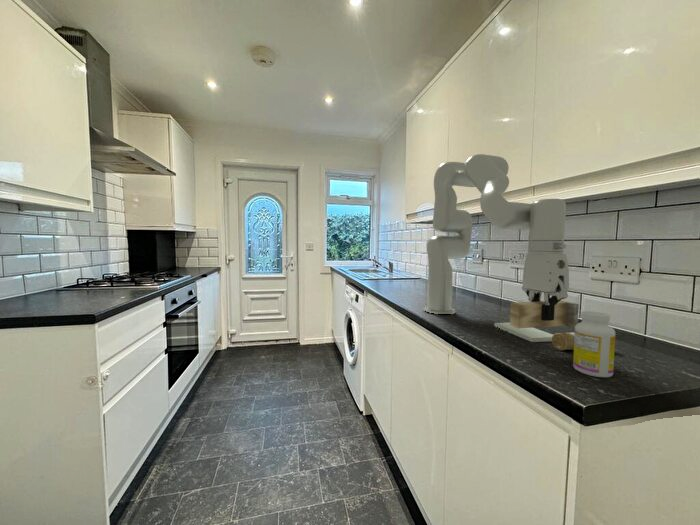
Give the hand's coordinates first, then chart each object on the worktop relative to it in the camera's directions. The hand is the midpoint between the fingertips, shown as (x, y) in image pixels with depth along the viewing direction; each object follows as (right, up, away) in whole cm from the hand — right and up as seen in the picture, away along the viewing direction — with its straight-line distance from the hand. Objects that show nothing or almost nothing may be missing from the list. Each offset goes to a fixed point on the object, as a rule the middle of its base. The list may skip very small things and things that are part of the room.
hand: (541, 317), depth 73 cm
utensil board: (+5, -8, +15) cm, 18 cm away
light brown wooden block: (0, -2, 0) cm, 2 cm away
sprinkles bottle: (+5, -6, +1) cm, 8 cm away
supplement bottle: (+3, -10, -12) cm, 16 cm away
